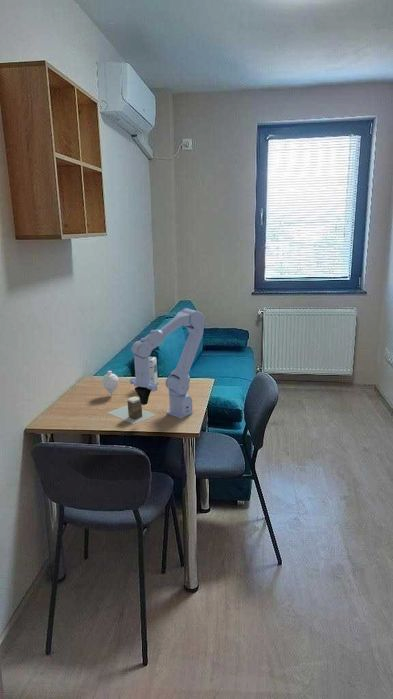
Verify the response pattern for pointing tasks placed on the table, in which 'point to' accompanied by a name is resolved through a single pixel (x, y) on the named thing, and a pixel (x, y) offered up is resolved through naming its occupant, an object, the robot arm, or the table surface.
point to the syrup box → (153, 370)
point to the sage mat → (123, 414)
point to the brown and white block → (134, 407)
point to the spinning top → (110, 382)
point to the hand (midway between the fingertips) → (144, 404)
